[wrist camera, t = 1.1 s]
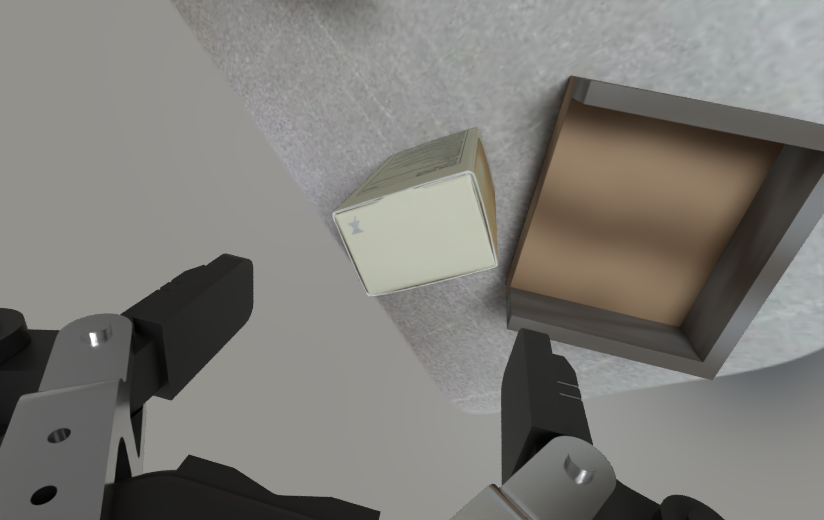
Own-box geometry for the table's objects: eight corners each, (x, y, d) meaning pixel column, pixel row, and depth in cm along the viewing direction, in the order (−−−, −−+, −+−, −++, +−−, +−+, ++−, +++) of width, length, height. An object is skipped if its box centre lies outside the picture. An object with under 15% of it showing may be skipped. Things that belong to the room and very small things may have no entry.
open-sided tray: (571, 75, 24) (591, 80, 19) (789, 117, 23) (875, 135, 18) (505, 281, 31) (507, 328, 25) (674, 322, 30) (712, 379, 24)
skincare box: (411, 213, 30) (360, 302, 19) (389, 154, 28) (321, 214, 17) (501, 188, 28) (502, 271, 17) (483, 123, 26) (472, 169, 15)
